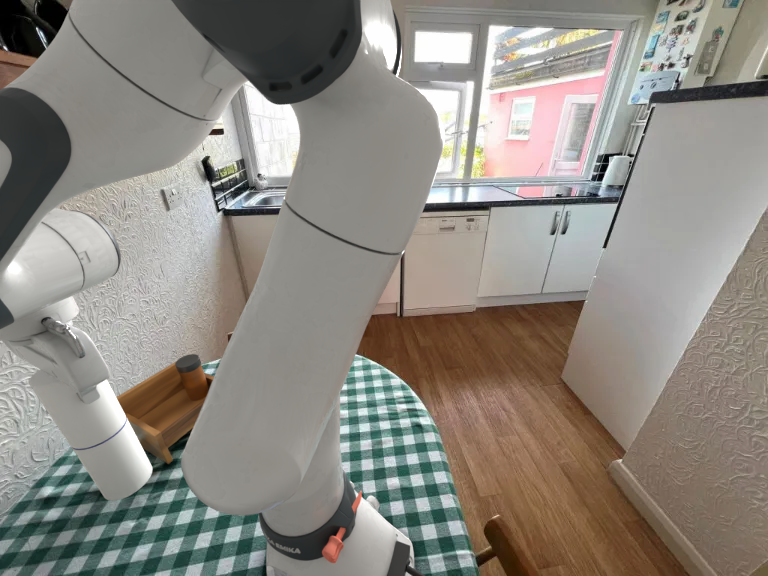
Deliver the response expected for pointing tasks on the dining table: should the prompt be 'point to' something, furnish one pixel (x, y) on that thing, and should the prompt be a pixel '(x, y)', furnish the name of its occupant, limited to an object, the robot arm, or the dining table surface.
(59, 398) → the cylindrical container
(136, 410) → the spice rack
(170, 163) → the robot arm
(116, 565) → the dining table surface
